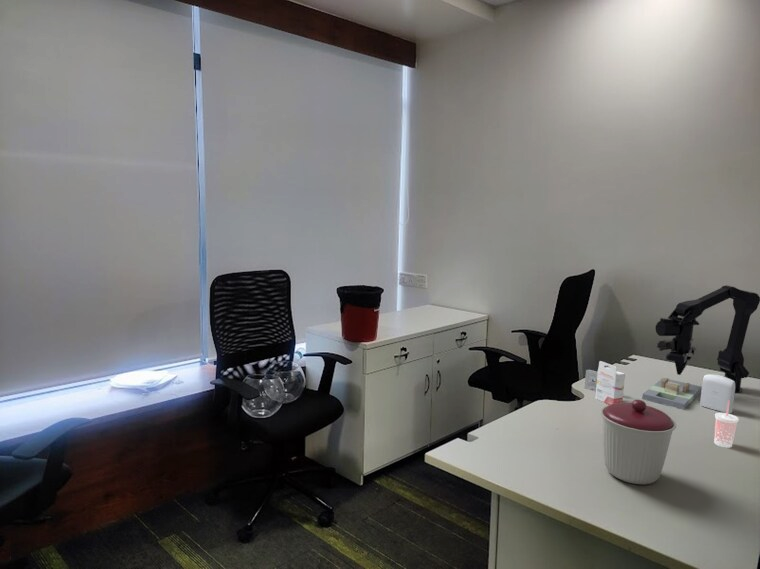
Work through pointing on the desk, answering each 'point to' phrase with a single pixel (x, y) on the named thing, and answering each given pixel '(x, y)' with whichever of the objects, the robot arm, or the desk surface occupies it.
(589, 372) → the cassette
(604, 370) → the ink cartridge box
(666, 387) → the birch block
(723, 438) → the beverage cup
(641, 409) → the canister
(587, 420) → the desk surface
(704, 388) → the photo printer
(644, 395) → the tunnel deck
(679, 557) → the desk surface
